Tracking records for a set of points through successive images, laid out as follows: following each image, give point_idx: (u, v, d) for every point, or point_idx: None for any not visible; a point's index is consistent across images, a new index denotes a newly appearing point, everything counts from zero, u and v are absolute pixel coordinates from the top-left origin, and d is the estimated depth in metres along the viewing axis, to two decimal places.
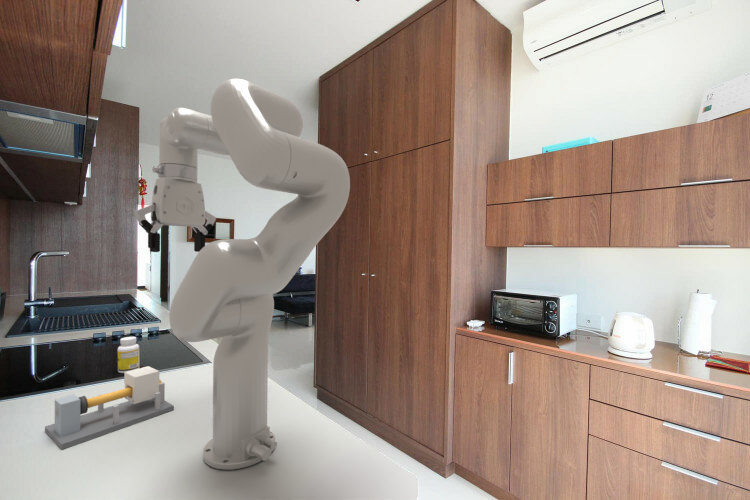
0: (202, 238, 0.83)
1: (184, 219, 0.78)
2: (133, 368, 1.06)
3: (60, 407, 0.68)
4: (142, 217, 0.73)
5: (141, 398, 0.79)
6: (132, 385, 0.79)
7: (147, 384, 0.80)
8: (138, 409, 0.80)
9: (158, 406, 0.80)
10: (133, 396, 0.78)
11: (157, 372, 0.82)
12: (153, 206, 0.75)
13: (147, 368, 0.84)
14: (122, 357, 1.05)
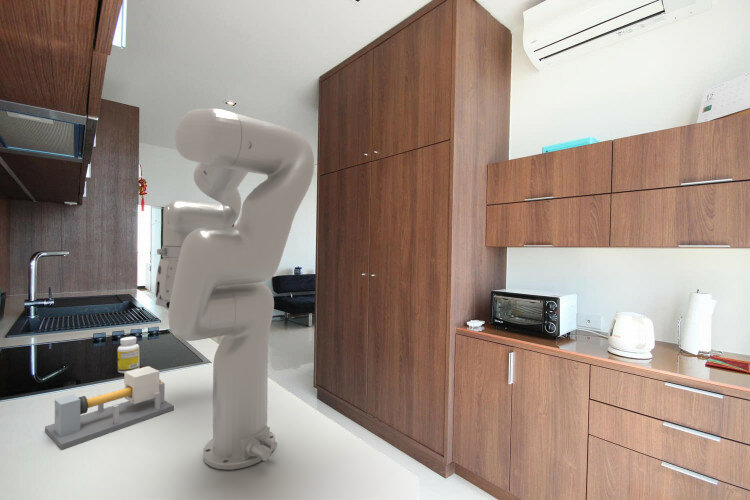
0: None
1: None
2: (133, 368, 1.06)
3: (60, 407, 0.68)
4: (164, 303, 0.85)
5: (141, 398, 0.79)
6: (132, 385, 0.79)
7: (147, 384, 0.80)
8: (138, 409, 0.80)
9: (158, 406, 0.80)
10: (133, 396, 0.78)
11: (157, 372, 0.82)
12: None
13: (147, 368, 0.84)
14: (122, 357, 1.05)
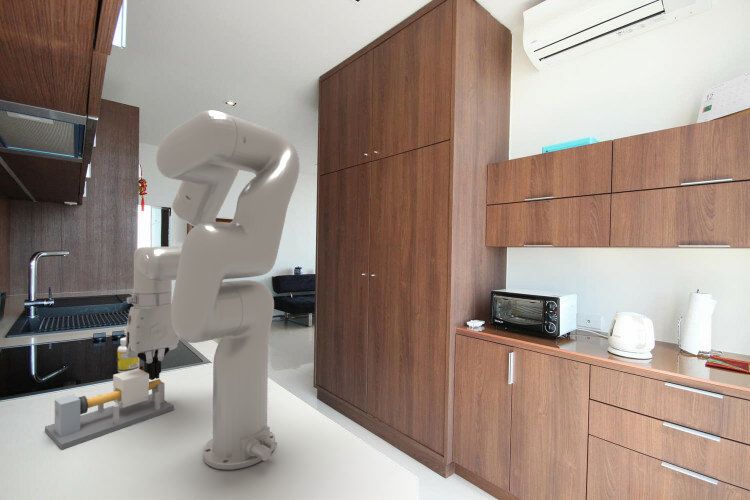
0: (157, 365, 0.83)
1: (158, 344, 0.82)
2: (133, 368, 1.06)
3: (60, 407, 0.68)
4: (135, 354, 0.80)
5: (130, 401, 0.77)
6: (121, 388, 0.77)
7: (136, 387, 0.78)
8: (138, 409, 0.80)
9: (158, 406, 0.80)
10: (122, 399, 0.76)
11: (147, 375, 0.80)
12: None
13: (137, 371, 0.82)
14: (122, 357, 1.05)
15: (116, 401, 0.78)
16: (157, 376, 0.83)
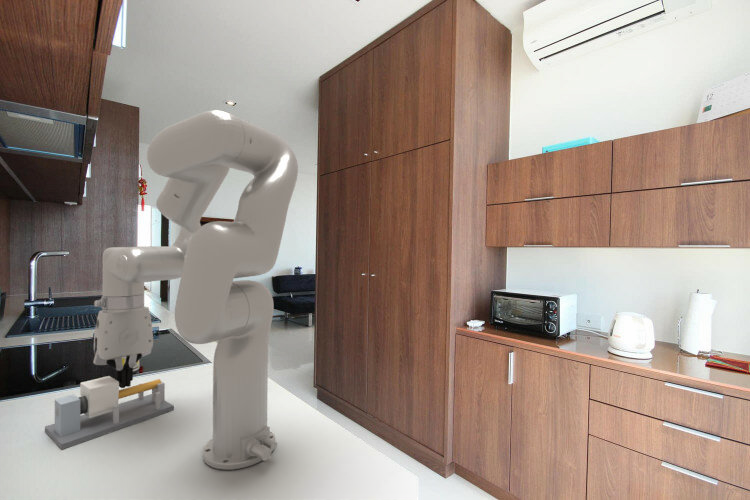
0: (128, 372, 0.78)
1: (128, 350, 0.77)
2: (133, 368, 1.06)
3: (60, 407, 0.68)
4: (103, 361, 0.75)
5: (97, 411, 0.73)
6: (87, 397, 0.72)
7: (104, 396, 0.73)
8: (138, 409, 0.80)
9: (158, 406, 0.80)
10: (88, 409, 0.72)
11: (116, 383, 0.75)
12: None
13: (106, 378, 0.77)
14: (122, 357, 1.05)
15: None
16: (128, 384, 0.78)
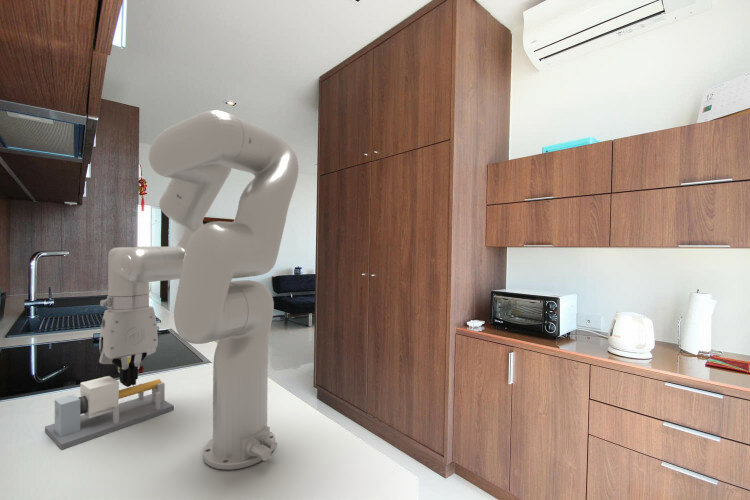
0: (134, 371, 0.79)
1: (134, 349, 0.78)
2: None
3: (60, 407, 0.68)
4: (109, 360, 0.76)
5: (97, 411, 0.73)
6: (87, 397, 0.72)
7: (104, 396, 0.73)
8: (138, 409, 0.80)
9: (158, 406, 0.80)
10: (88, 409, 0.72)
11: (116, 383, 0.75)
12: None
13: (106, 378, 0.77)
14: None
15: None
16: (133, 383, 0.79)
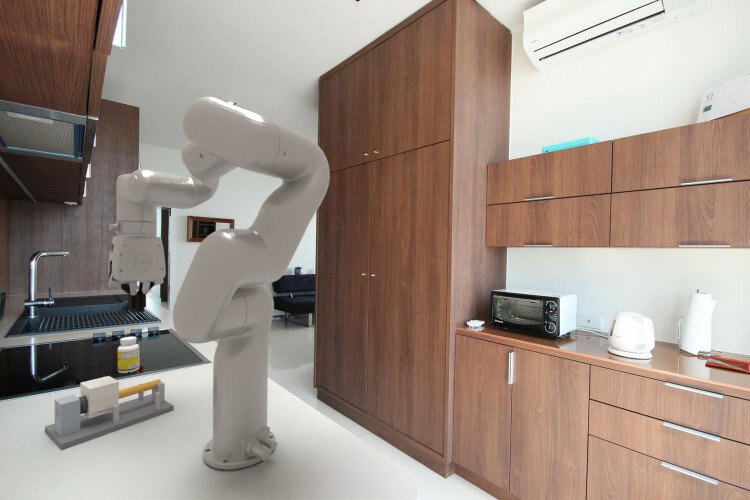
0: (142, 298, 0.79)
1: (142, 275, 0.78)
2: (133, 368, 1.06)
3: (60, 407, 0.68)
4: (118, 284, 0.77)
5: (97, 411, 0.73)
6: (87, 397, 0.72)
7: (104, 396, 0.73)
8: (138, 409, 0.80)
9: (158, 406, 0.80)
10: (88, 409, 0.72)
11: (116, 383, 0.75)
12: None
13: (106, 378, 0.77)
14: (122, 357, 1.05)
15: None
16: (142, 309, 0.79)
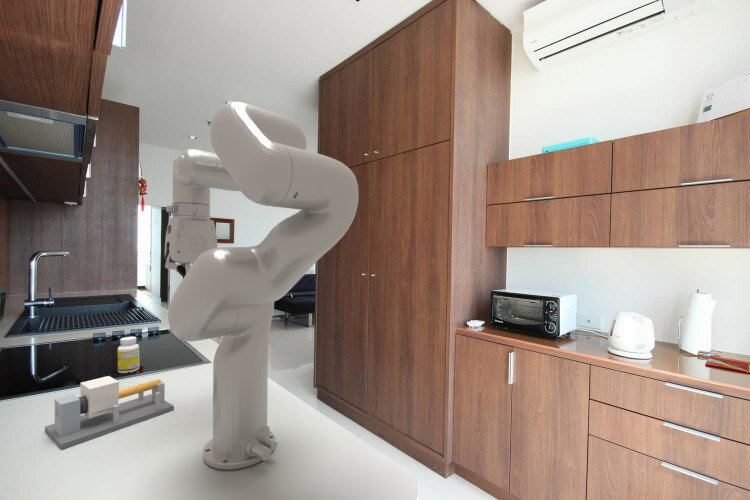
0: None
1: (197, 257, 0.79)
2: (133, 368, 1.06)
3: (60, 407, 0.68)
4: (174, 266, 0.77)
5: (97, 411, 0.73)
6: (87, 397, 0.72)
7: (104, 396, 0.73)
8: (138, 409, 0.80)
9: (158, 406, 0.80)
10: (88, 409, 0.72)
11: (116, 383, 0.75)
12: None
13: (106, 378, 0.77)
14: (122, 357, 1.05)
15: None
16: None
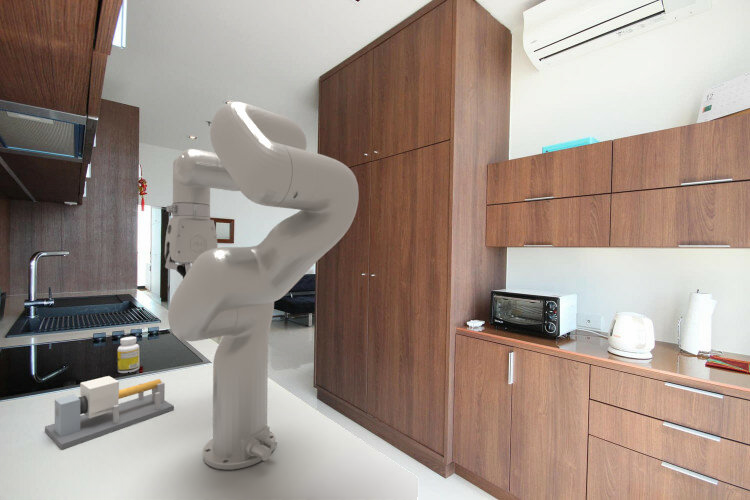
0: None
1: (197, 257, 0.79)
2: (133, 368, 1.06)
3: (60, 407, 0.68)
4: (175, 266, 0.77)
5: (97, 411, 0.73)
6: (87, 397, 0.72)
7: (104, 396, 0.73)
8: (138, 409, 0.80)
9: (158, 406, 0.80)
10: (88, 409, 0.72)
11: (116, 383, 0.75)
12: None
13: (106, 378, 0.77)
14: (122, 357, 1.05)
15: None
16: None
